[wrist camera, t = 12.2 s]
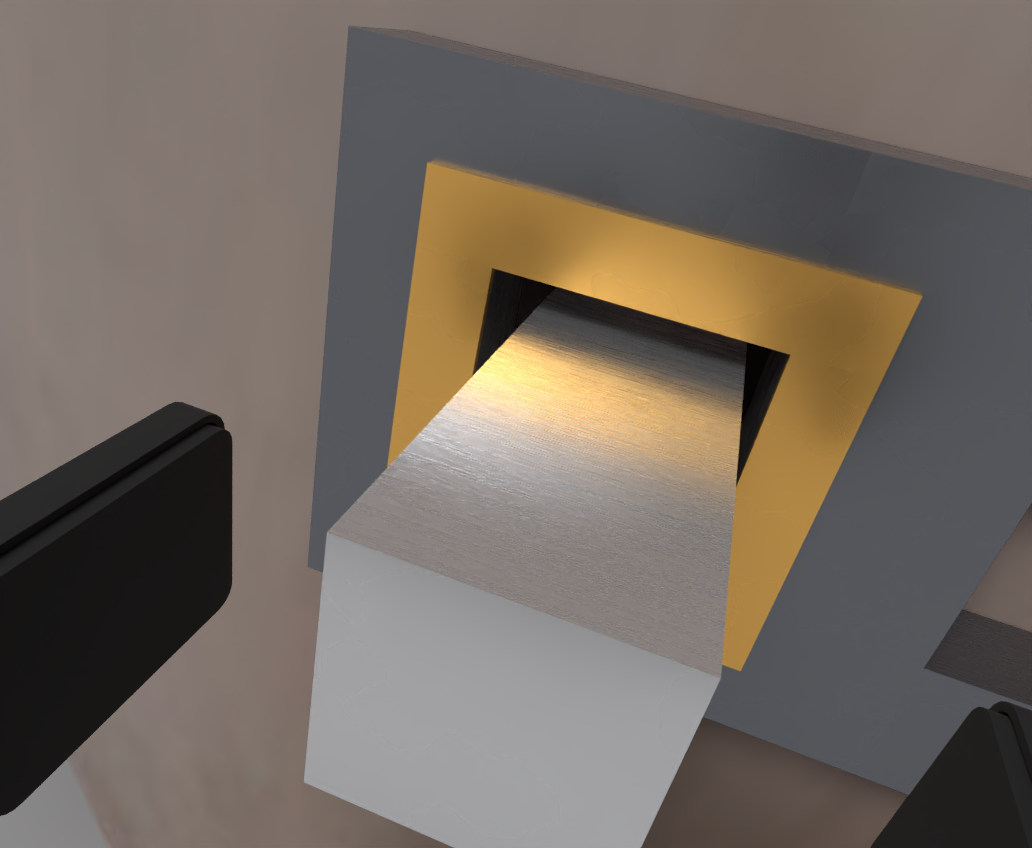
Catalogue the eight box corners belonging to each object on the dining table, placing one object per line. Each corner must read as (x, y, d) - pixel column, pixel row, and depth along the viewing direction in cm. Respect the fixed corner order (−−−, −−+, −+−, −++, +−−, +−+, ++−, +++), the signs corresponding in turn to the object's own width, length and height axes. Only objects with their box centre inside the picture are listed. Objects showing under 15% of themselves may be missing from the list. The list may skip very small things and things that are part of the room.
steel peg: (747, 332, 15) (720, 678, 7) (688, 490, 17) (608, 915, 9) (563, 279, 16) (327, 532, 7) (526, 436, 18) (304, 782, 9)
